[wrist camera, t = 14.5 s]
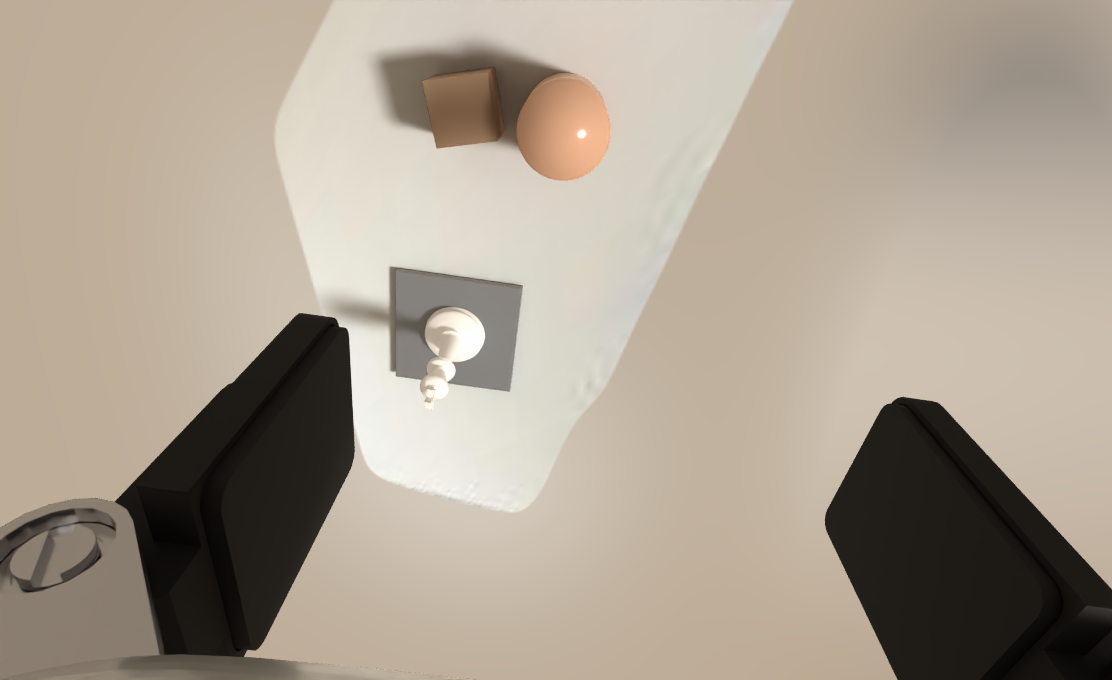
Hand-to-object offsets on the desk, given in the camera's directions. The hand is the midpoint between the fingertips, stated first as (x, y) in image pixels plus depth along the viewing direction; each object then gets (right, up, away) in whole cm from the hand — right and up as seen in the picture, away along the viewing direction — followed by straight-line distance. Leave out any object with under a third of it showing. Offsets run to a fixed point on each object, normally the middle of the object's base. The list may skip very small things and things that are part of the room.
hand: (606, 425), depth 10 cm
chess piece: (-9, +2, +37) cm, 38 cm away
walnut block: (-7, +18, +29) cm, 34 cm away
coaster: (-9, +2, +37) cm, 39 cm away
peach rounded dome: (0, +17, +29) cm, 33 cm away
